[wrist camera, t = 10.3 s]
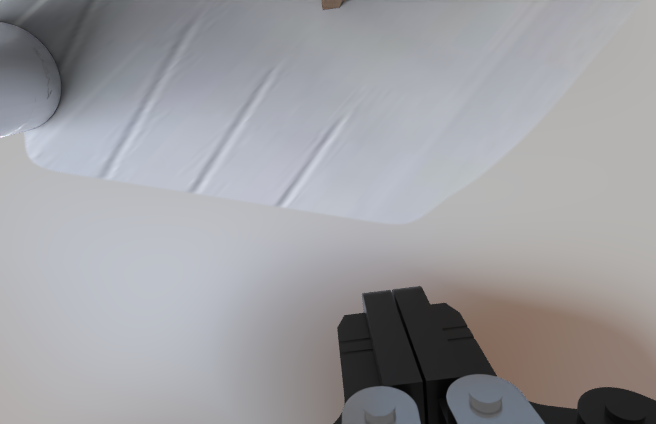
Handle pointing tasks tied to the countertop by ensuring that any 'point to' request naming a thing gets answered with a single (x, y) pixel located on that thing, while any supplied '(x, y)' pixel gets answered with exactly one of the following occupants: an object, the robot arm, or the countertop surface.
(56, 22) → the countertop surface
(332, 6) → the crate
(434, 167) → the countertop surface
